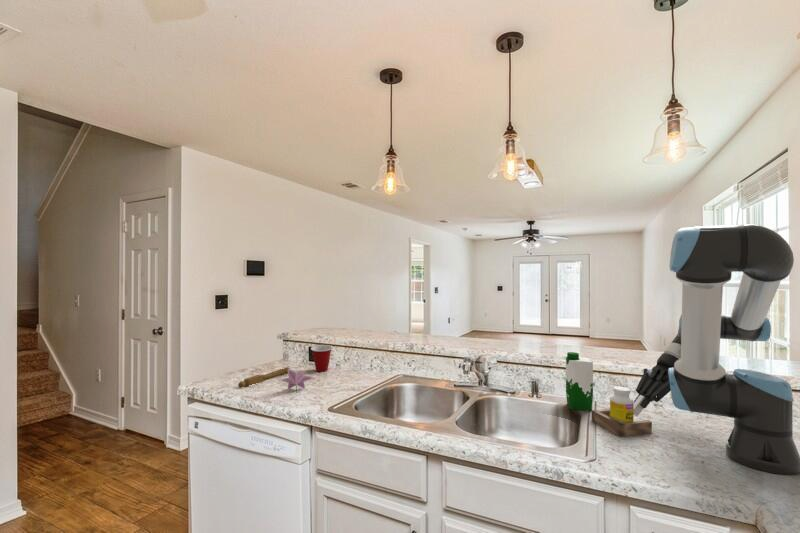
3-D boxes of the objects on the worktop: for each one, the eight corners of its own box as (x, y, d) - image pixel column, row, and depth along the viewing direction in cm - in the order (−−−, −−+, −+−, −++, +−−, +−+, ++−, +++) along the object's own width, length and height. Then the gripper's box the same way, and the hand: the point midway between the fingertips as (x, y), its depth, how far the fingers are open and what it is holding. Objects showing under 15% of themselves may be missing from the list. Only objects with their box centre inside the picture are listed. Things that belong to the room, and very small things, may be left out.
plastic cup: (307, 372, 197) (307, 348, 197) (315, 367, 208) (315, 344, 208) (328, 373, 196) (328, 349, 196) (335, 368, 206) (335, 345, 206)
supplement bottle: (627, 434, 124) (627, 392, 124) (606, 427, 129) (605, 387, 130) (637, 429, 128) (637, 389, 128) (616, 422, 133) (616, 384, 133)
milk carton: (564, 402, 153) (563, 350, 154) (589, 404, 152) (589, 351, 152) (568, 410, 145) (568, 355, 145) (595, 412, 143) (595, 356, 143)
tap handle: (290, 367, 198) (241, 382, 171) (290, 373, 198) (241, 389, 171) (285, 366, 200) (236, 381, 173) (285, 372, 200) (236, 388, 173)
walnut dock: (620, 417, 137) (620, 407, 137) (651, 433, 125) (651, 421, 125) (591, 420, 135) (591, 410, 135) (620, 436, 122) (620, 425, 122)
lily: (317, 392, 170) (315, 370, 174) (302, 388, 160) (301, 365, 164) (292, 399, 172) (291, 377, 176) (276, 396, 162) (275, 373, 166)
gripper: (699, 372, 129) (656, 428, 125) (664, 362, 142) (624, 413, 138) (685, 356, 128) (642, 412, 124) (651, 348, 140) (611, 399, 137)
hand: (633, 413), depth 131 cm, fingers closed
